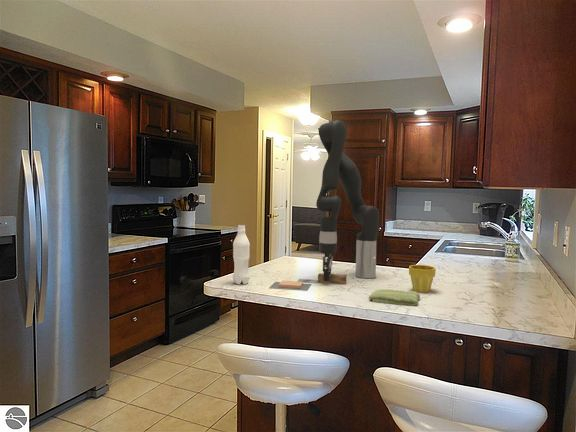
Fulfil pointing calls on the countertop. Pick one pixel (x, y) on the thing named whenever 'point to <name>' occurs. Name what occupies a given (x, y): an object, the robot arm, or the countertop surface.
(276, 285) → the slate mat
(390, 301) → the washcloth
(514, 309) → the countertop surface
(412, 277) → the plant pot
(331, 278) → the board
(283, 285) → the tile
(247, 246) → the water bottle
